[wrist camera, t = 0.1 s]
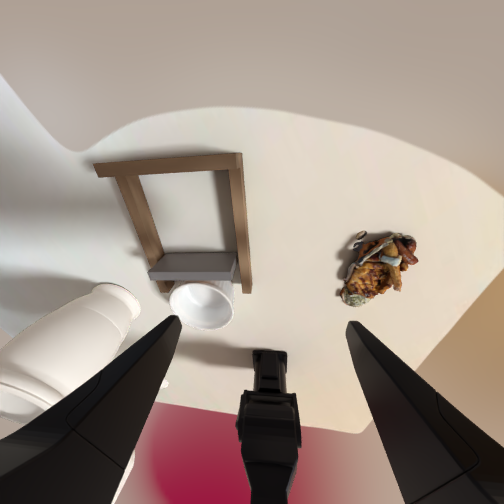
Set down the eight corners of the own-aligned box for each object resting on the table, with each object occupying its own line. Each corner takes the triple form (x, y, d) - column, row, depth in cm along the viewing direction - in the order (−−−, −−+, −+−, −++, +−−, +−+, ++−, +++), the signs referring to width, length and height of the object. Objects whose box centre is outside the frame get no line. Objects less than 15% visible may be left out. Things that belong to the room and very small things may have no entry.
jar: (85, 267, 28) (-73, 367, 15) (150, 291, 30) (55, 401, 16) (89, 311, 33) (-28, 413, 20) (144, 329, 35) (67, 437, 21)
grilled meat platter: (333, 300, 28) (341, 319, 25) (355, 228, 22) (369, 241, 19) (380, 304, 27) (395, 323, 24) (416, 231, 22) (440, 244, 18)
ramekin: (249, 294, 28) (246, 316, 24) (210, 316, 31) (201, 338, 28) (210, 254, 25) (199, 272, 21) (170, 282, 28) (155, 302, 25)
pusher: (238, 262, 25) (231, 282, 21) (169, 262, 26) (151, 282, 22) (236, 252, 24) (230, 272, 20) (166, 253, 25) (147, 272, 21)
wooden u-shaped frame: (252, 284, 27) (249, 304, 23) (167, 283, 28) (152, 302, 25) (241, 153, 19) (235, 153, 15) (123, 161, 20) (92, 163, 17)
